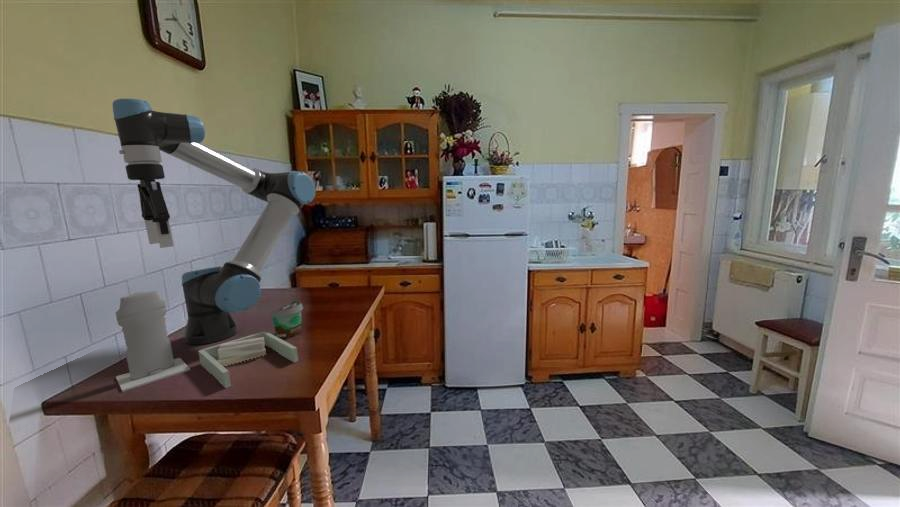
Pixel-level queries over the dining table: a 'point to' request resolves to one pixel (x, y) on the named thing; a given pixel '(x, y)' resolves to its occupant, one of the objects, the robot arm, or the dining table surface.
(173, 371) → the mat
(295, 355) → the rack
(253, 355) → the offcut lower
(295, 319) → the food container
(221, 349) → the offcut upper
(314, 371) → the dining table surface
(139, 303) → the tall pale column
